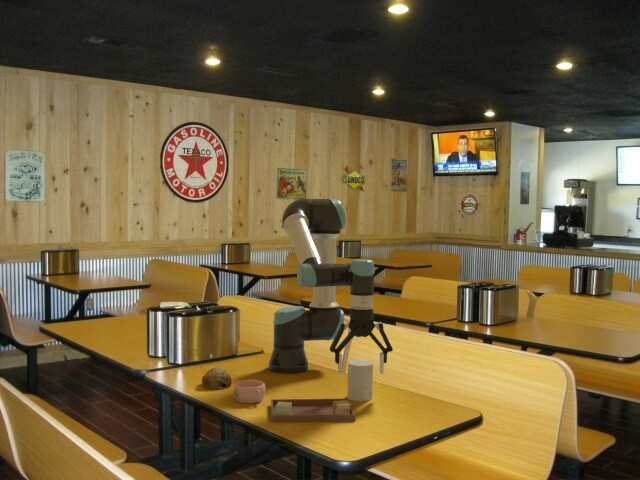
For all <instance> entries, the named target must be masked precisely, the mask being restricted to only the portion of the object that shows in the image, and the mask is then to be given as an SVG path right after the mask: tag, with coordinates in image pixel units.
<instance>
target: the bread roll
mask: <svg viewBox="0 0 640 480" xmlns="http://www.w3.org/2000/svg"><path fill="white" fill-rule="evenodd" d="M232 383H233V380H232V376H231V374H230V373H229V372H228V371H227V370H226V369H224V368H221V367H212V368H211V369H208V370H207V372H205V373H204V374H203V376H202V378H201V385H202V386H203V387H204V389H210V390H222V389H227V388H230V387H231V386H232Z"/></svg>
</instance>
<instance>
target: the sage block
mask: <svg viewBox="0 0 640 480" xmlns="http://www.w3.org/2000/svg"><path fill="white" fill-rule="evenodd" d="M275 415H292V402H278V403H277V404H276V414H275Z"/></svg>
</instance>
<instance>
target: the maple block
mask: <svg viewBox="0 0 640 480" xmlns="http://www.w3.org/2000/svg"><path fill="white" fill-rule="evenodd" d="M350 404H351V403H350ZM350 404H349V403H348V402H347V401H346V400H344V401H333V414H350Z"/></svg>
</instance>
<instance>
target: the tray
mask: <svg viewBox="0 0 640 480" xmlns="http://www.w3.org/2000/svg"><path fill="white" fill-rule="evenodd" d="M344 400H346V401H347V402H348V403H349V404H350V414H333V401H344ZM278 402H292V415H275V414H276V404H277V403H278ZM270 413H271V415H270V417H271V423H311V422H312V423H318V422H319V423H321V422H322V423H323V422H328V423H330V422H356V413H355V411H354V409H353V406H352V404H351V402H350V399H348V398H289V399H288V398H284V399H281V398H280V399H279V398H278V399H274V398H273V399H272V398H271V399H270Z"/></svg>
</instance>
